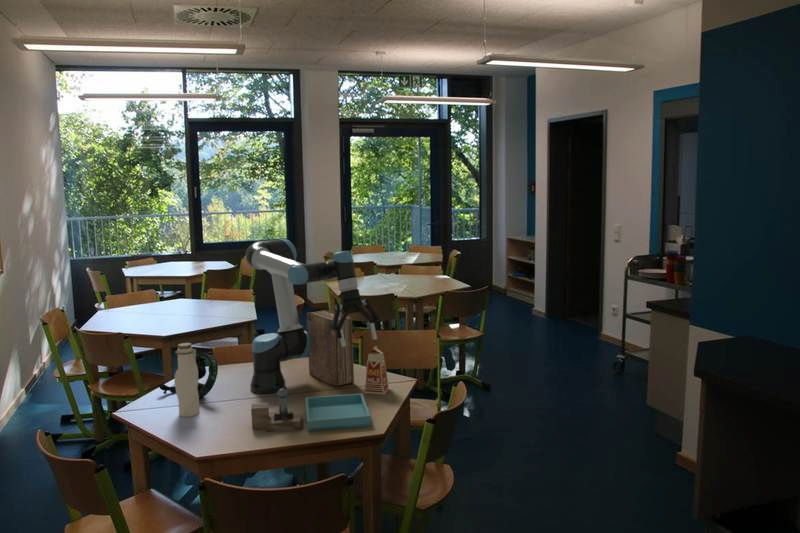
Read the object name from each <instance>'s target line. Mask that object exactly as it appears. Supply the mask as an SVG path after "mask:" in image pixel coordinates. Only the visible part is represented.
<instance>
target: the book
mask: <svg viewBox="0 0 800 533" xmlns="http://www.w3.org/2000/svg"><path fill="white" fill-rule="evenodd" d="M334 313H335V311H333V310H330V309H329V310H328V309H325V308H324V309H316V310H310V311H307V312H306V331H307V332H308V335H309V336H310V339H311V347H310V350H309V352H308V354H307V355H308V372H309V374H308V375H310V376H312V377H314V378H315V379H318V380H320V381H321V382H323V383H326V384H328V385H330V386H331V387H334V388H336V389H337V388H338V386H344V385H347V384H354V383H355V372H354V371H355V370H354V347H353V346H354V343H353V342H354V341H353V337H354V336H353V318H352V317H351V316H349V315H347V317H346V319H345V321H344V323H343V325H342V327H341V329H340V330H343V334H344V339H345V344H346V346H343V347H342V346H341V341H340V338H339V339H338V337H337V332H336V330H332V329H331V325H332V321H333V317H334ZM342 315H343V313H342V314H341V313H340V314H339V318H338V322H339V320H340V319H341V317H342ZM338 322H337V324H338Z"/></svg>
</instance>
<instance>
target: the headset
mask: <svg viewBox="0 0 800 533" xmlns="http://www.w3.org/2000/svg"><path fill="white" fill-rule="evenodd" d="M205 360H207V362H208V364H209V365H208V374H207V369H206V366H207V364H206V362H205ZM196 364H197V368H198V381H200V380H201V379H203V378H204V377H205V376H206V374H207V375H208V376H207V379H206V381H205V383H201V382H198V388H197V390H198V396H199V398H204V397H205V396H207V395H208V394H209V393H210V392H211V390H212V388H213V387H214V385H215V383H216V380H217V377H218V372H219V369H218V367H219V364H218V361H217V359H216V358H215V356H213V355H211V354H207V353H201V354H198V355H196ZM158 388H159V389H160V390H162V393H163V394H164V395H166V396H168V393H167V391H169V392H170V393H176V389H175V383H174V384H173V385H172V386H169V385H166V384H164V383H160V384H159V385H158Z"/></svg>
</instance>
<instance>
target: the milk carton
mask: <svg viewBox="0 0 800 533" xmlns="http://www.w3.org/2000/svg"><path fill="white" fill-rule="evenodd" d="M372 348H373V349H372V350H371V351H370V352H369V353H368V358H367V362H366V369H365V370H366V374H365V375H366V376H365V385H364V389H363V394H368V393H369V394H370V393H371V394H372V395H383V394H385V395H386V393H387V392H388V390H389V379H388V373H387V367H386V366H387V365H386V361H385V356H384V352H382V351H381V350H380V349H378V346H377V345H376V346H373V347H372Z"/></svg>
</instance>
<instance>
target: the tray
mask: <svg viewBox="0 0 800 533" xmlns="http://www.w3.org/2000/svg"><path fill="white" fill-rule="evenodd" d="M304 400H305V414H306V427H307V432H308V433H309V432H319V431H320V432H321V431H322V432H323V431H332V430H344V429H354V428H356V429H357V428H366V427H367V428H368V427H372V425H371V424H372V422H371V420H372V417H371V413H370V411H369V407H368V405H367V403H366V400H365V396H364V392H363V393H348V394H337V395H336V394H335V395H325V396H323V395H321V396H311V397H305V398H304Z"/></svg>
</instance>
